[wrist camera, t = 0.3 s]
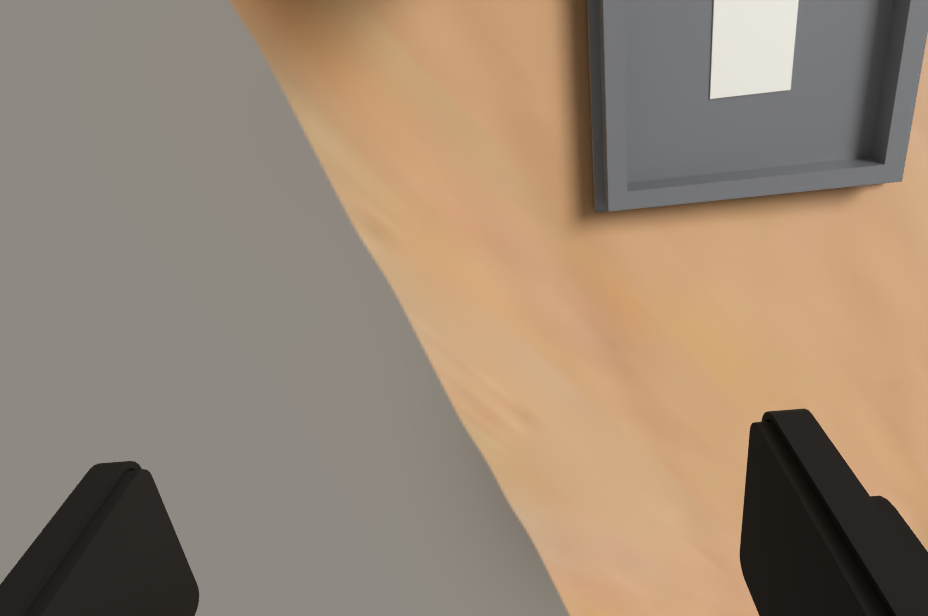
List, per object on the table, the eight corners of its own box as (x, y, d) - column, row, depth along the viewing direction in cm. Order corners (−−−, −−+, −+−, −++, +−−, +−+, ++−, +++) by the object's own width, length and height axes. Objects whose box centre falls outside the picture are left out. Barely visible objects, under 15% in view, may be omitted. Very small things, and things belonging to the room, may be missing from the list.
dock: (581, -148, 31) (587, -154, 29) (950, -201, 30) (981, -212, 28) (594, 208, 39) (599, 221, 37) (889, 178, 38) (910, 189, 36)
